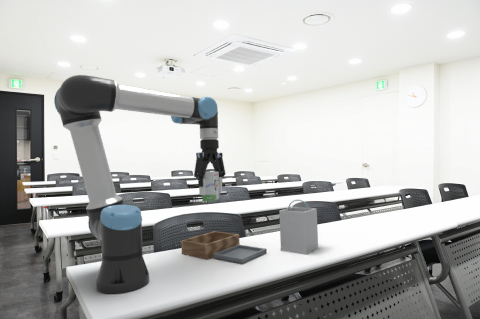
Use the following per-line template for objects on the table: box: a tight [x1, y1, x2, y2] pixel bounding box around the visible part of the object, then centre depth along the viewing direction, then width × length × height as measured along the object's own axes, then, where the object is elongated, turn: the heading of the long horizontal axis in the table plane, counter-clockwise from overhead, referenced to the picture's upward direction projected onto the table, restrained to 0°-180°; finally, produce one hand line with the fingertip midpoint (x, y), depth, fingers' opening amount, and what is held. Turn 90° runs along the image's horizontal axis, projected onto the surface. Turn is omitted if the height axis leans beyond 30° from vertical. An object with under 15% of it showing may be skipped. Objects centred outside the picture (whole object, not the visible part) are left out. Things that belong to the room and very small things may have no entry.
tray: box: [212, 244, 267, 265], centre depth 124 cm, size 16×14×2 cm
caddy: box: [278, 206, 319, 255], centre depth 131 cm, size 11×11×16 cm
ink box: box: [202, 170, 220, 202], centre depth 133 cm, size 9×5×12 cm, turn 169°
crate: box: [180, 231, 241, 260], centre depth 133 cm, size 20×14×6 cm
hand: (211, 193), depth 133 cm, fingers closed on ink box, 9 cm apart
